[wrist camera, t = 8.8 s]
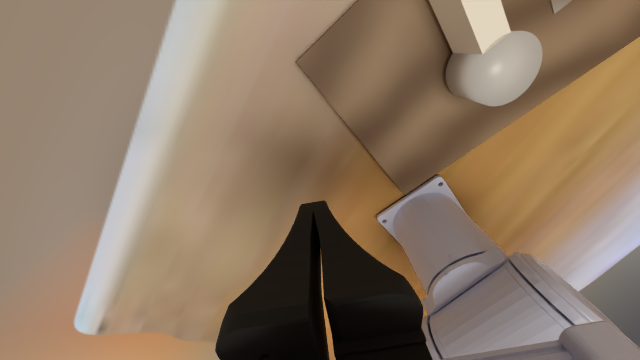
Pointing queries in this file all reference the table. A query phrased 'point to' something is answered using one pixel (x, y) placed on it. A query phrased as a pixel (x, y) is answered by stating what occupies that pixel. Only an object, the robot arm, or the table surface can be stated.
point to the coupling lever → (486, 51)
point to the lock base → (430, 75)
